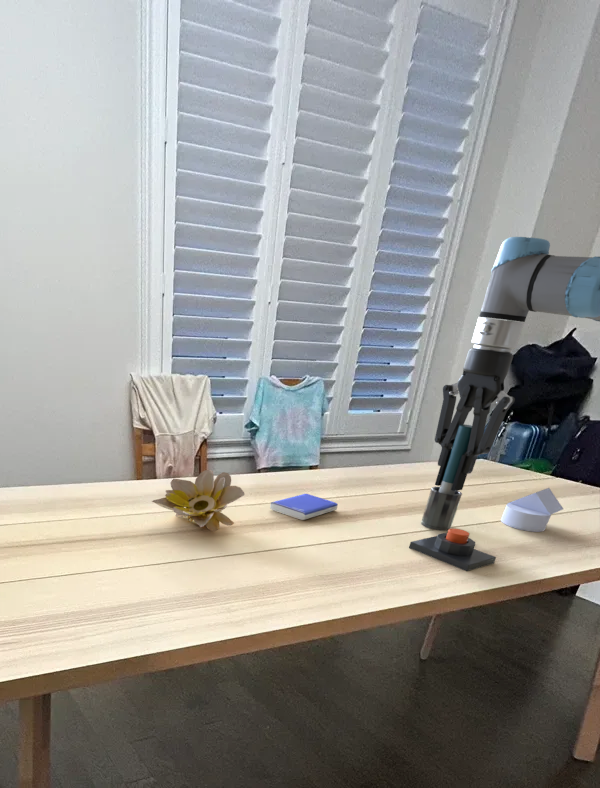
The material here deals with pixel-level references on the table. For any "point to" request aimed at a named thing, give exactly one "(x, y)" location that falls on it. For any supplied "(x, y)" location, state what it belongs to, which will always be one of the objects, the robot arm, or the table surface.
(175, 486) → the decorative flower
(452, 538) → the power button
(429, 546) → the station
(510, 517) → the wedge on round base
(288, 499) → the hard drive
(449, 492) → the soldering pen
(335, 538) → the table surface
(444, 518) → the pen holder
